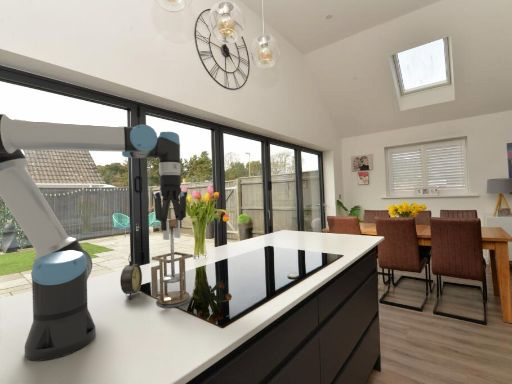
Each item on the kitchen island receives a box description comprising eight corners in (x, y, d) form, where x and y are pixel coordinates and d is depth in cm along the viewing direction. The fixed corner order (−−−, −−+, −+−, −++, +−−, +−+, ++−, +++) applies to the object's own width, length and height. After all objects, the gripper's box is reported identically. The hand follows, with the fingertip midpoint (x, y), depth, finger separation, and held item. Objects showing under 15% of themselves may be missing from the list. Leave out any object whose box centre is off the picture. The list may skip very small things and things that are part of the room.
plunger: (170, 284, 91) (168, 220, 92) (157, 280, 96) (156, 220, 96) (188, 278, 97) (186, 218, 98) (175, 275, 102) (173, 218, 102)
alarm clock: (133, 300, 98) (131, 256, 98) (118, 301, 98) (116, 257, 98) (143, 290, 109) (142, 250, 109) (129, 290, 109) (128, 251, 109)
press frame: (164, 312, 87) (162, 262, 87) (144, 304, 94) (143, 258, 94) (197, 298, 98) (196, 254, 98) (177, 292, 105) (176, 251, 105)
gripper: (154, 173, 88) (156, 243, 88) (195, 175, 102) (196, 235, 101) (142, 174, 93) (144, 241, 92) (182, 176, 106) (184, 234, 106)
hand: (171, 238), depth 97 cm, fingers closed on plunger, 4 cm apart
